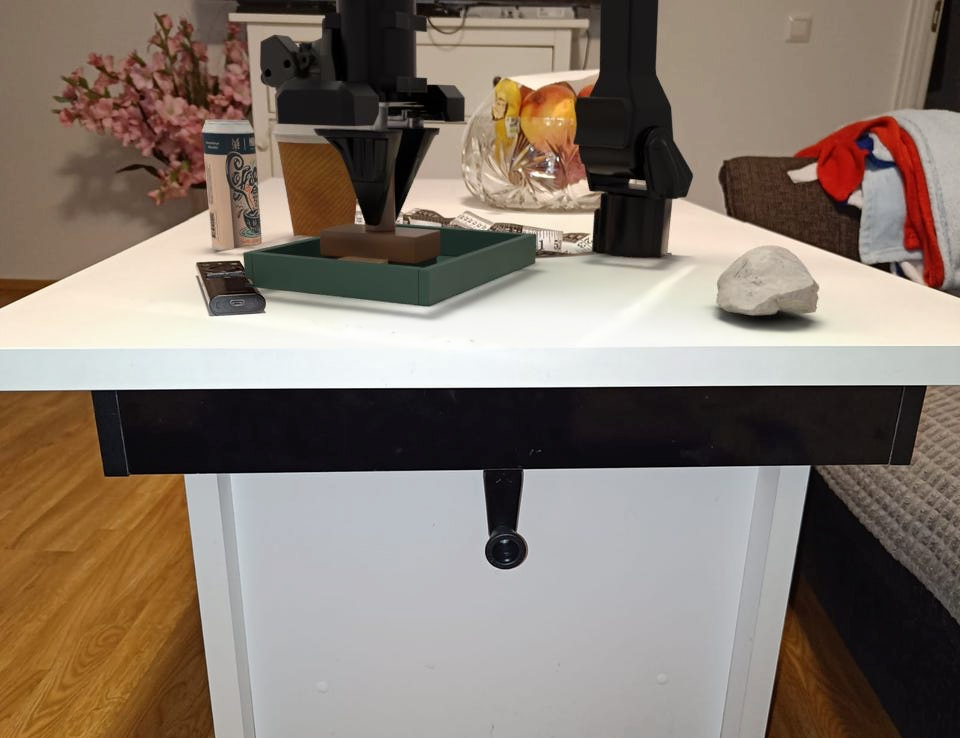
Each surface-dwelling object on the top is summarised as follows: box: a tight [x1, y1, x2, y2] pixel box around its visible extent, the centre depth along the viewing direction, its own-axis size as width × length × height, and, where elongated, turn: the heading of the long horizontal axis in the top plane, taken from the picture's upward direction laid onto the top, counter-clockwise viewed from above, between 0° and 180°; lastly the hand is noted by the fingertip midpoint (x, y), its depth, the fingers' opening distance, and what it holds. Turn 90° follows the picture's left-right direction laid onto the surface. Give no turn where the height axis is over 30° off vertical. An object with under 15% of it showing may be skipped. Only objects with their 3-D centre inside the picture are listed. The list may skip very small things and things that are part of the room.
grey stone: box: [716, 244, 820, 317], centre depth 67 cm, size 9×8×5 cm
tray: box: [242, 222, 537, 308], centre depth 77 cm, size 16×22×3 cm
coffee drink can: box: [201, 119, 263, 253], centre depth 89 cm, size 5×5×12 cm
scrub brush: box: [320, 166, 440, 268], centre depth 72 cm, size 8×4×8 cm, turn 67°
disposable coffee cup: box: [271, 123, 358, 238], centre depth 97 cm, size 10×10×12 cm
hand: (381, 223), depth 73 cm, fingers closed on scrub brush, 2 cm apart
